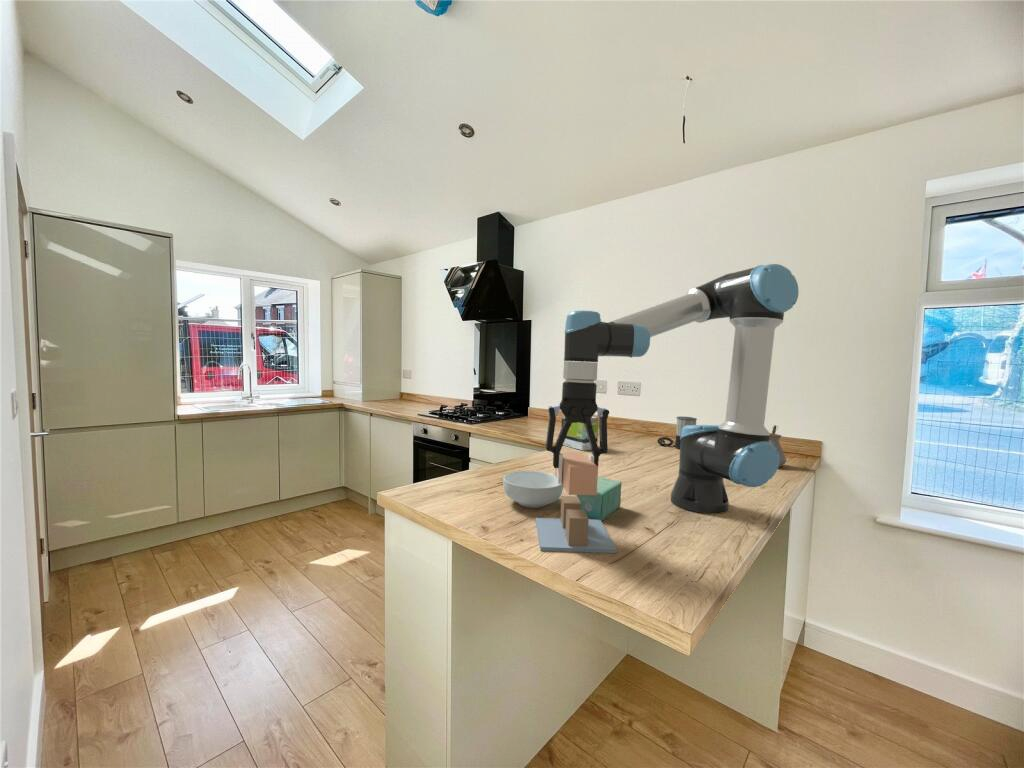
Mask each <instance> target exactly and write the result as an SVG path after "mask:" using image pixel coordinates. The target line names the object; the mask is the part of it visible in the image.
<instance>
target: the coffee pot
mask: <svg viewBox="0 0 1024 768" xmlns="http://www.w3.org/2000/svg"><path fill="white" fill-rule="evenodd" d="M778 428H779V426H778V425H776V424H775V425H773V426H772V431H771V432H770V442H769V443H771V444H772V445H773V446H774V447H775V448H776V449H777V452H778V453H779V466H778V468H781V467H782V466H784V465H785V464H786V462H787V459H786V455H785V453H784V451H783V449H782V446H781V443H780V438H781V437H782V435H781V434H778V433H776V432H777V430H778Z"/></svg>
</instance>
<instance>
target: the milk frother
mask: <svg viewBox="0 0 1024 768" xmlns="http://www.w3.org/2000/svg"><path fill="white" fill-rule="evenodd" d="M675 418H676V427H675V428H676V431H675V432H676V433H675V440H673V439H671V438H670V437H666V436H662V437H661V436H660V437H659V438H658V439H657V444H659V445H660V446H664V447H671V446H672V445H673V444H674V448H675V449H679V450H680V441H681V440H680V437H681V433H682V428H683V427H684V426H686V425H697V420H698V418H696V417H692V416H676V417H675ZM665 440H666V441H668V442H669V443H666V441H665Z"/></svg>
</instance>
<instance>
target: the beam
mask: <svg viewBox="0 0 1024 768" xmlns="http://www.w3.org/2000/svg"><path fill="white" fill-rule="evenodd" d="M560 452H561V453H562V454H563V465H562V484H561V485H562V486H563V490H565V492H566V493H567V494H568V495H569V496H572V495H573V496H577V495H597V480H598V477H599V465H598V466H597V465H595V464H594V463H593V462H592V461H591V460H589V459H588V456H586V455H585V454H584V453H582V452H581V451H560ZM554 470H555V472H554V473H555V474H554V475H555V477H556V478H557V468H554Z"/></svg>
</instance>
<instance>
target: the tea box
mask: <svg viewBox="0 0 1024 768" xmlns="http://www.w3.org/2000/svg"><path fill="white" fill-rule="evenodd" d="M564 419H565V416H564V414H563V413H562V415H561V426H560V427H561V428H562V426H563V422H564ZM591 423H592V428H593V431H594V435H595V439H596V442H597V443H598V442H599V441H598V440H599V439H598V437H599V417H598V416H594V415H593V416H592V417H591ZM563 446H565V447H569V448H573V449H576V450H581V451H592V450H591V446H590V443H589V439H588V435H587V432H586V428H585V425H584V423H580V422H576V423H572V424H571V426H570V428H569V430H568V433H567V435H566V438H565V441H564V443H563Z"/></svg>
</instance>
